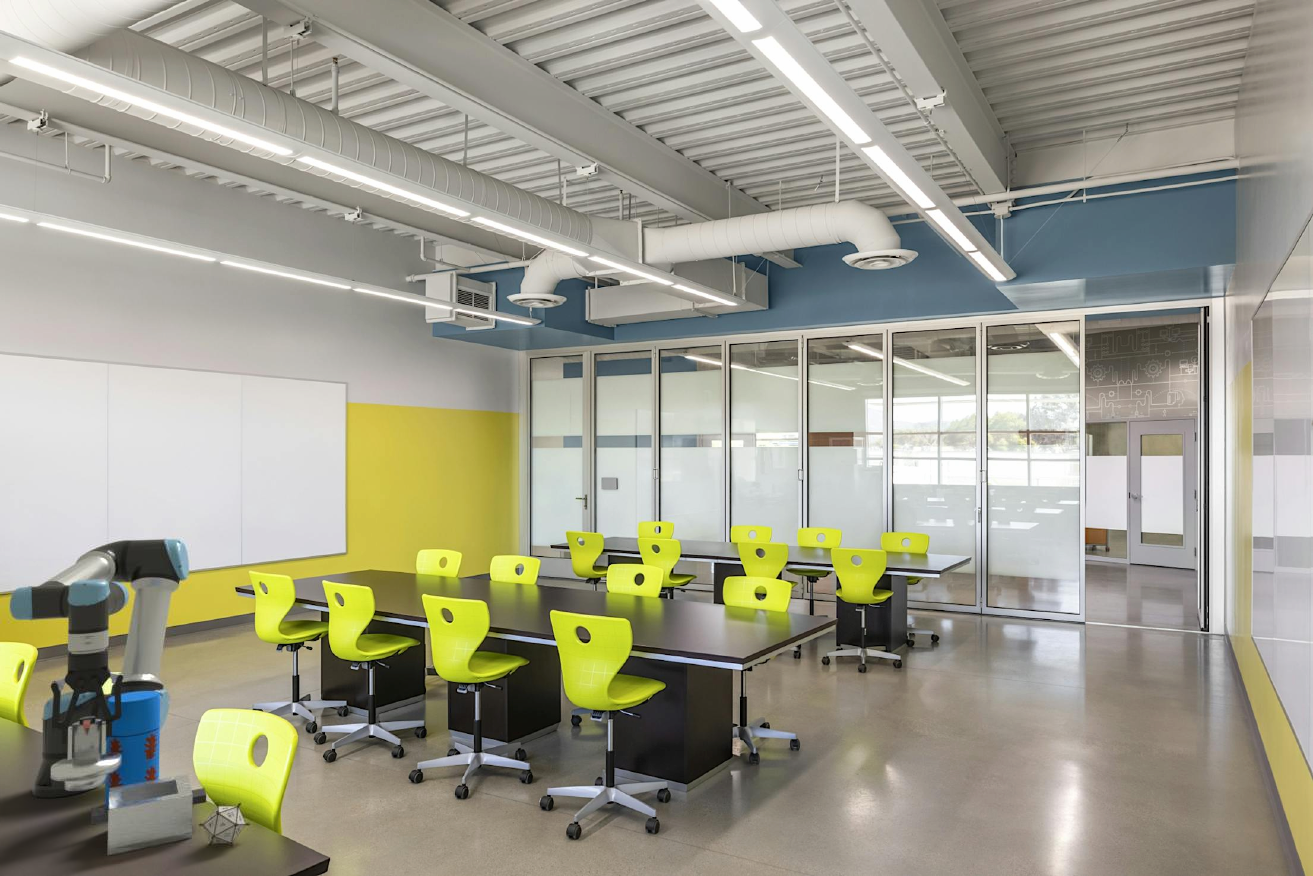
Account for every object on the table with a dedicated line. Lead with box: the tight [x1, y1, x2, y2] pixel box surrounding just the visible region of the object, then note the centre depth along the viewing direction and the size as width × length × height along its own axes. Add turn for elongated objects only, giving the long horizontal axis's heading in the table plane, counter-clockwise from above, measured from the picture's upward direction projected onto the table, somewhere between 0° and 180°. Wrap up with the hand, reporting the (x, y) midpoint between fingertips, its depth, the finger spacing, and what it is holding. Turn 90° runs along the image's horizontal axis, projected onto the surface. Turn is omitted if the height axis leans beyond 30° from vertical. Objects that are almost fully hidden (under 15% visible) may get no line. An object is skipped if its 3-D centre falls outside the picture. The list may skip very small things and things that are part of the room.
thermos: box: [104, 691, 161, 806], centre depth 198 cm, size 11×11×25 cm
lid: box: [51, 716, 122, 791], centre depth 186 cm, size 13×13×14 cm
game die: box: [198, 802, 251, 848], centre depth 174 cm, size 9×8×10 cm
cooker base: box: [90, 774, 207, 856], centre depth 180 cm, size 15×21×9 cm
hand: (87, 755), depth 185 cm, fingers closed on lid, 5 cm apart
